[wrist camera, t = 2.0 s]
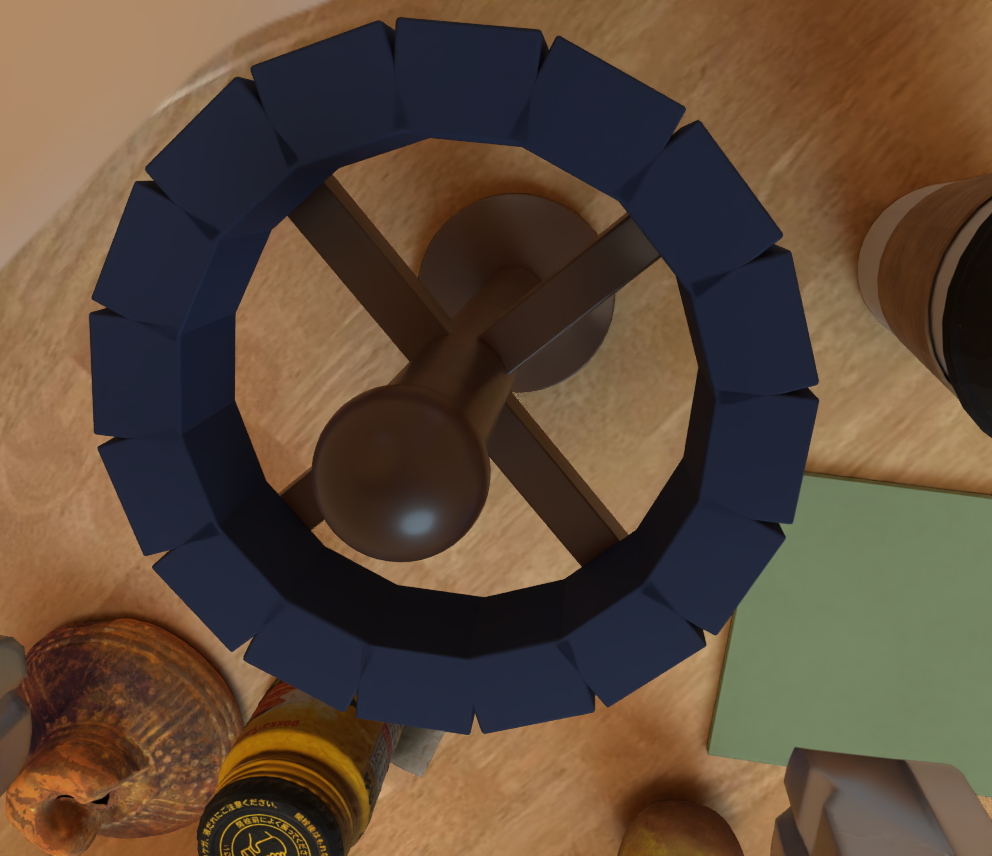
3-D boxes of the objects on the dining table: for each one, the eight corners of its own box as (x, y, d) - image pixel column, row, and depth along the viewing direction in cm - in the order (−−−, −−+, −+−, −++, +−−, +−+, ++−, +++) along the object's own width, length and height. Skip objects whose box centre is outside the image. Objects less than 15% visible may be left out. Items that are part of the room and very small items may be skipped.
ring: (151, 14, 19) (74, -13, 16) (845, 77, 18) (892, 60, 15) (162, 618, 24) (103, 680, 21) (721, 700, 23) (739, 777, 20)
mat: (761, 466, 37) (763, 470, 36) (1110, 509, 36) (1117, 514, 35) (706, 748, 41) (707, 754, 40) (1017, 794, 40) (1022, 802, 39)
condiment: (316, 580, 41) (205, 742, 29) (482, 656, 41) (437, 846, 29) (265, 702, 43) (144, 896, 31) (423, 773, 43) (360, 992, 31)
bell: (112, 565, 42) (15, 645, 35) (297, 731, 43) (240, 840, 36) (-21, 704, 45) (-135, 803, 38) (155, 854, 46) (78, 976, 39)
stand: (387, 133, 35) (1, 71, 12) (678, 162, 34) (839, 153, 11) (371, 410, 38) (47, 761, 16) (635, 443, 37) (696, 865, 15)
